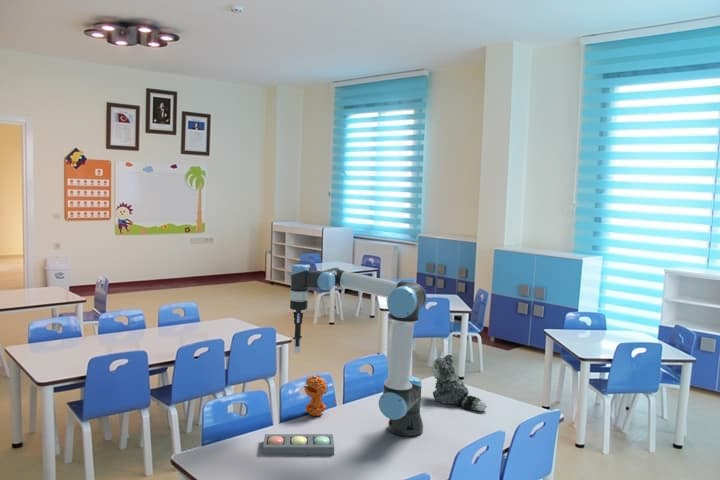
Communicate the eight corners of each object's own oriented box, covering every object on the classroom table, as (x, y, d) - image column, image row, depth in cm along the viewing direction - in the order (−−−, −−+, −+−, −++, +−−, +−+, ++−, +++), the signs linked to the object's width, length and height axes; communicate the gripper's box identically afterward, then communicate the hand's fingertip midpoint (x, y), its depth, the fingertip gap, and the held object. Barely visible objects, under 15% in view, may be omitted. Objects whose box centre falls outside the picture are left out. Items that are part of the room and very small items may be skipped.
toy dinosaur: (302, 408, 271) (304, 370, 270) (326, 409, 272) (327, 371, 271) (302, 418, 260) (303, 378, 259) (327, 418, 261) (328, 379, 260)
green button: (329, 449, 229) (329, 442, 228) (314, 449, 228) (314, 442, 228) (328, 442, 234) (329, 436, 234) (313, 442, 234) (314, 436, 234)
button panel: (334, 454, 226) (334, 447, 226) (262, 454, 223) (262, 447, 223) (332, 441, 238) (332, 434, 237) (264, 441, 235) (264, 434, 235)
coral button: (283, 449, 227) (283, 442, 226) (267, 449, 226) (267, 442, 226) (283, 442, 233) (283, 436, 232) (268, 442, 232) (268, 436, 232)
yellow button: (306, 449, 228) (306, 442, 227) (290, 449, 227) (291, 442, 227) (306, 442, 234) (306, 436, 233) (291, 442, 233) (291, 436, 233)
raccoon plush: (434, 390, 305) (437, 350, 303) (494, 403, 289) (496, 362, 287) (422, 398, 292) (425, 357, 290) (484, 413, 276) (487, 369, 274)
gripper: (307, 303, 250) (305, 357, 252) (307, 297, 263) (305, 349, 265) (289, 302, 249) (288, 357, 251) (290, 297, 262) (288, 348, 264)
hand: (297, 352), depth 258 cm, fingers closed
